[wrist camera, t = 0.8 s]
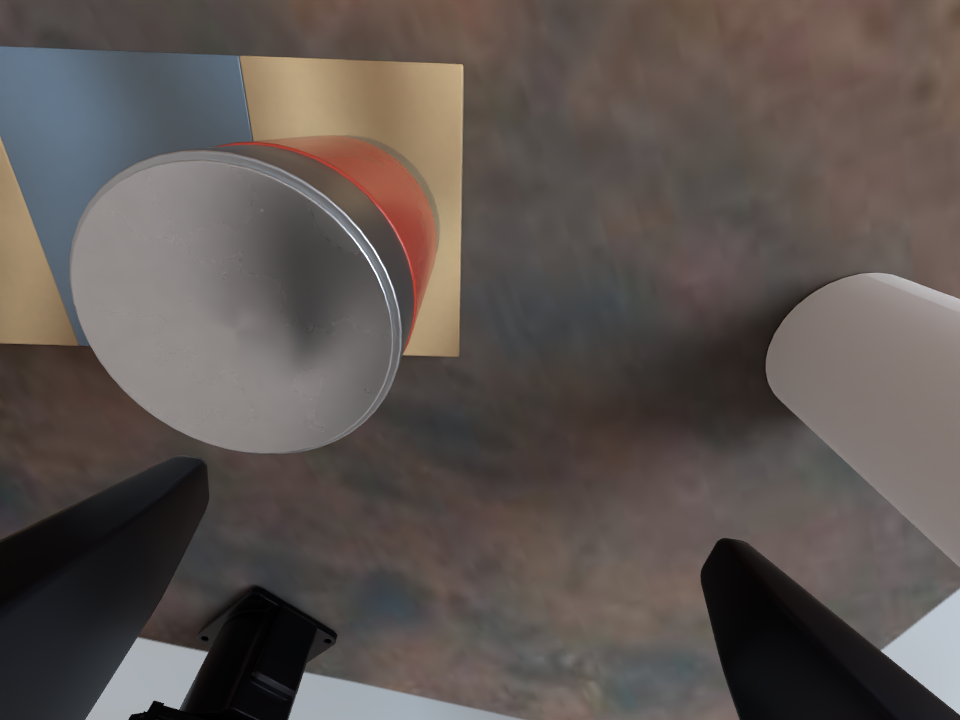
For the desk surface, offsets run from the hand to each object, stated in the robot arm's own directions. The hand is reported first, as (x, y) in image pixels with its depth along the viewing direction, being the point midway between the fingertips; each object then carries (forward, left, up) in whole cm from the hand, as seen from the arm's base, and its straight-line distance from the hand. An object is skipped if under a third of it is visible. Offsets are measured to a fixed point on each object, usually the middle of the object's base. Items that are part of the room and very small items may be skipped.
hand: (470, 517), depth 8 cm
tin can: (-2, +5, -13) cm, 14 cm away
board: (-7, +11, -14) cm, 19 cm away
